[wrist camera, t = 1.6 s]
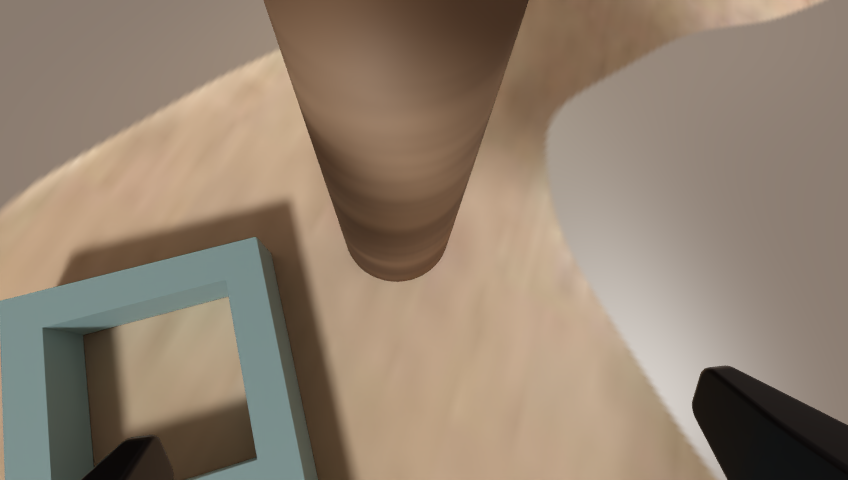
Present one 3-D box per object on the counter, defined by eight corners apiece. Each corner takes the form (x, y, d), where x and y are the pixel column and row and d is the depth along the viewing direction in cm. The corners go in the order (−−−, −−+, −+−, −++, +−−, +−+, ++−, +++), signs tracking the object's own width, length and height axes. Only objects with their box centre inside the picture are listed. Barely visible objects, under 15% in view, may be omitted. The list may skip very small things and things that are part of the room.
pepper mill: (461, 265, 23) (571, 48, 8) (359, 293, 22) (289, 110, 8) (431, 173, 24) (481, -146, 10) (334, 197, 23) (236, -109, 9)
